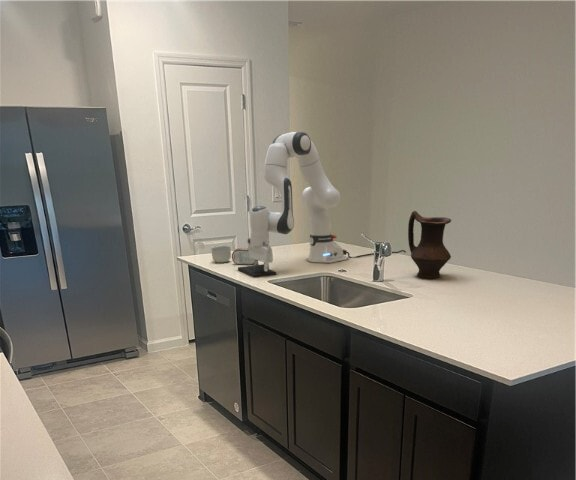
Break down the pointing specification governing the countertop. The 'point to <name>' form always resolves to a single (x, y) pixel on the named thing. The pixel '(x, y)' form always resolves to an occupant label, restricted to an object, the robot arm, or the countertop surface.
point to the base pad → (245, 269)
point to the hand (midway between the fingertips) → (261, 269)
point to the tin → (242, 257)
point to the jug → (428, 245)
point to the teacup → (221, 253)
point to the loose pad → (260, 271)
